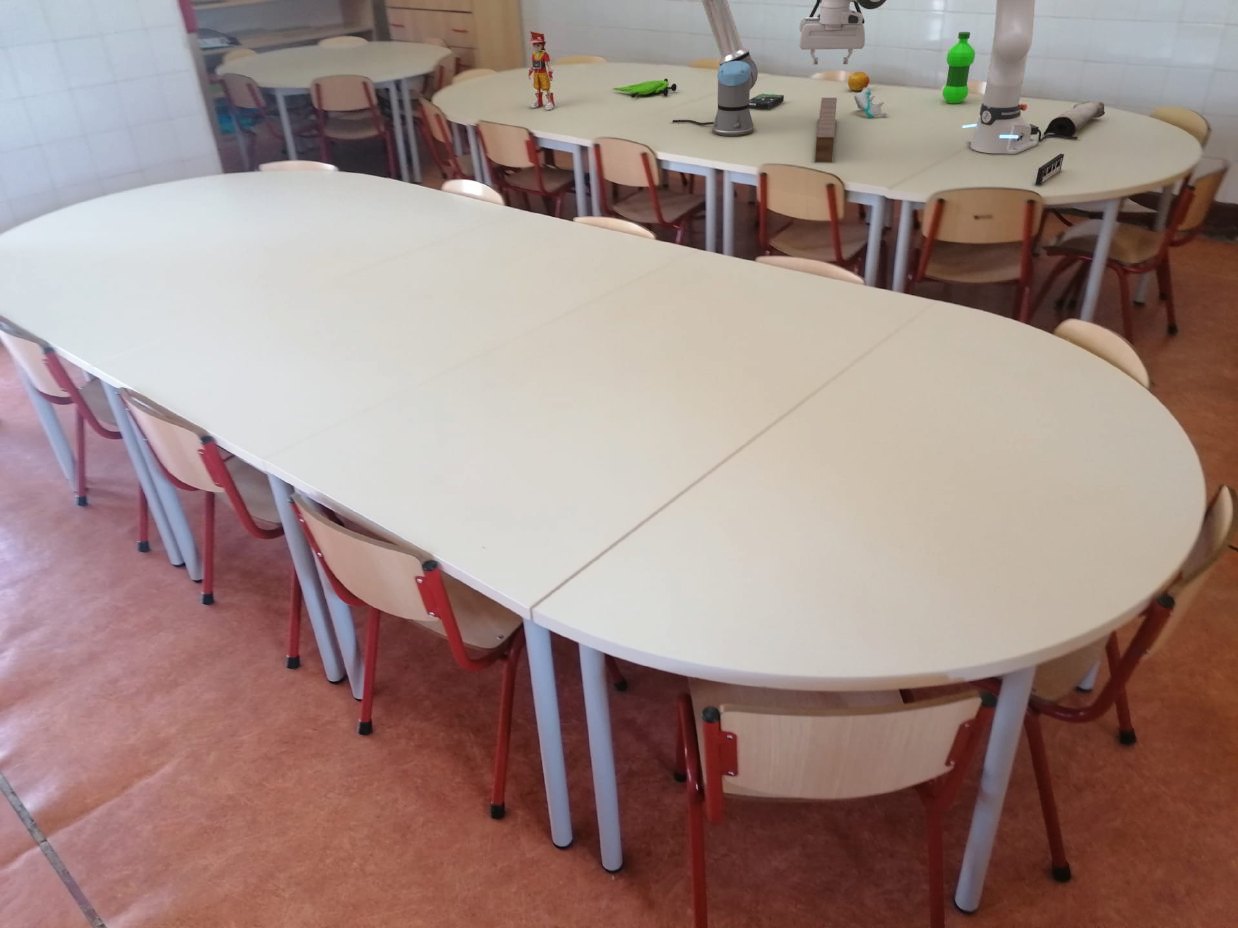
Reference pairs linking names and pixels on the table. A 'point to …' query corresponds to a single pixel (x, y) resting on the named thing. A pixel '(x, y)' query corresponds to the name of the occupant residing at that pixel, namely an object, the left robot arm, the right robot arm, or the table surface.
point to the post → (826, 130)
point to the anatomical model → (868, 104)
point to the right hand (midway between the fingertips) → (830, 64)
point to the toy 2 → (648, 88)
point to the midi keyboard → (1049, 169)
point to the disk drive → (765, 101)
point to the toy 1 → (541, 71)
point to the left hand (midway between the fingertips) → (833, 46)
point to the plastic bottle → (958, 69)
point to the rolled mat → (1075, 118)
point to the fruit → (858, 81)
